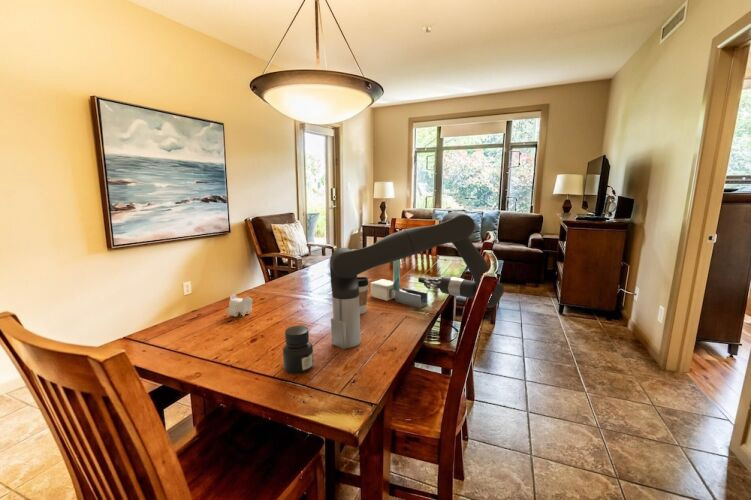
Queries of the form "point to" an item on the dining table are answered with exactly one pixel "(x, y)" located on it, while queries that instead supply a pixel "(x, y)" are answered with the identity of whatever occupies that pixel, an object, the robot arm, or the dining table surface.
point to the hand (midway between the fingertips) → (419, 279)
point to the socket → (381, 289)
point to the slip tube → (395, 279)
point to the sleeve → (411, 297)
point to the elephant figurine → (239, 305)
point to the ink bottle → (297, 350)
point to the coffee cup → (362, 293)
